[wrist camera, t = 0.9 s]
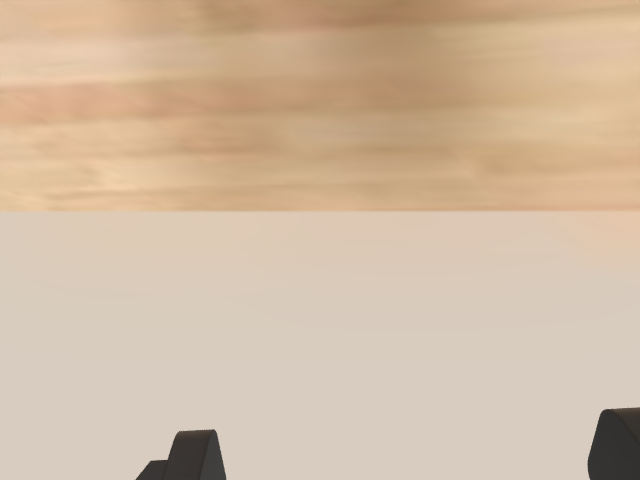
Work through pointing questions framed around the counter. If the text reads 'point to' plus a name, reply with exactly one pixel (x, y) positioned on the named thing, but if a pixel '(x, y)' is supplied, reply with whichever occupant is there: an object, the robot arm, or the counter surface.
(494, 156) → the counter surface
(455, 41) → the counter surface
